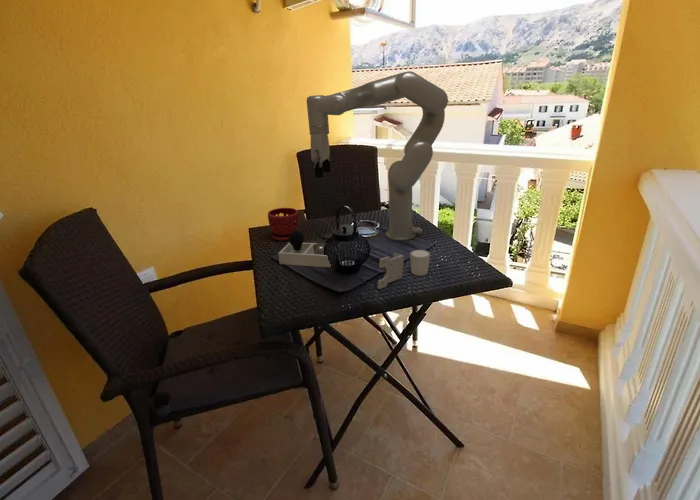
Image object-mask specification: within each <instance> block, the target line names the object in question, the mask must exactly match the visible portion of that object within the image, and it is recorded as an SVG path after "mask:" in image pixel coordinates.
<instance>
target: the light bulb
mask: <svg viewBox="0 0 700 500" xmlns="http://www.w3.org/2000/svg"><path fill="white" fill-rule="evenodd" d="M289 242H290V244H291V245H292V246H293V249H294V251H295V253H301V246H302V243H305V236H304V234H303V233H302V232H301V231H299V230H296V231H293V232H292V233H290V235H289V240H288V243H289Z"/></svg>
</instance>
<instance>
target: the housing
mask: <svg viewBox="0 0 700 500" xmlns="http://www.w3.org/2000/svg"><path fill="white" fill-rule="evenodd" d="M325 244H326V243H324V242H319V243H317V242H316V243H315V242H303V243H302V246H301V253H295V251H294V249H293V246H292V245H291V244H290V242H289V241H288V243H287V244H286V245H285V246H284V247H283V248H282V249H281V250H280V251H279V252H278V253H277V254H278V260H279V261H278V262H279V264H280V265H288V266H289V265H290V266H303V267H305V266H306V267H318V268H319V267H320V268H331V267H332V266H331V264H330V262H329V260H328V256H327V255H324V247H325Z"/></svg>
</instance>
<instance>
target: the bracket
mask: <svg viewBox="0 0 700 500" xmlns="http://www.w3.org/2000/svg"><path fill="white" fill-rule="evenodd" d="M404 258H405V255H402V254H400V253H397V252H393V257H392V258H390V256H385V257H382V258H379V262H378V263H379V264H378V265H379V267H378V268H380V269H381V268H385V270H386V271H385V275H384V276H383V277H382V278H380V279H379V280H377V290H378V289H379V290H380V289H383V288H386V287H387V286H388V284H390V283H392V282H396V281H398V280H400V279H402V278H403V270H404V262H405V261H404V260H405V259H404Z"/></svg>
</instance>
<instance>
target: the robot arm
mask: <svg viewBox="0 0 700 500" xmlns="http://www.w3.org/2000/svg"><path fill="white" fill-rule="evenodd" d="M400 99H401V100H402V99H407V100H408V101H410V102H411V103H413V104H415V105H416V106H418V107H420V108H421V110H422V117H421V119H420V122H419V123H418V125H417V127H416V129H415V130H414V132H413V133H412V135H411V137H410V138H409V139H408V141H407V142H406V144H405V145H404V151H403V152H404V156H403V157H402V158H401V160H396V161H394V162H393V163H392V164H391V165H390V166H389V168H388V171H387V179H388V210H389V211H388V213H389V215H388V216H389V217H388V219H389V221H388V223H389V225H388V230H387V231H386V232H385V237H386V238H387V239H390V240H393V241H408V240H411V239H413V238H415V237H416V234H423V228H421V227H420V226H414V223H413V220H412V219H413V187H414V186H415V184H416V183H417V182H418V180H419V179H420V178H421V177H422V175H423V173H424V172H425V170H426V168H427V167H428V166H429V164H430V162H431V160H432V158H433V155H434V150H433V144H434V143H435V141H436V139H437V138H438V136H439V135H440V132H441V131H442V129H443V127H444V124H445V116H446V115H445V114H446V113H445V112H446V111H445V110H446V108H447V106H448V104H449V97H448V94H447V92H446V91H445V90H444V89H442V88H440V87H439V86H438V85H436V84H434V83H433V82H431V81H430V80H427V79H425V78H424V77H422V76H421V75H420V74H418V73H416V72H414V71H410V70H409V71H403V72H399V73H397V74H396V73H395V74H393V75H390V76H385V77H384V78H383V77H382V78H380V79H375V80H372V81H369V82H366V83H364V84H362V85H360V86H356V87H353V88H350V89H347V90H342V91H339V92H336V93H333V94H328V95H322V94H321V95H320V94H316V95H309V96H307V97H306V110H307V119H308V129H309V136H310V157H311V160H310V161H312V162H313V168H314V176H315V177H314V178H317V179H320V178H324V173H330V172H332V171H331V158H330V155H331V151H330V141H329V135H328V134H330V126H329V116H341V115H343V114H344V113H347V112H350V111H352V110H357V109H361V108H365V107H368V108H369V107H376V106H380V105H383V104H386V103H390V102H394V101H398V100H400Z"/></svg>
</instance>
